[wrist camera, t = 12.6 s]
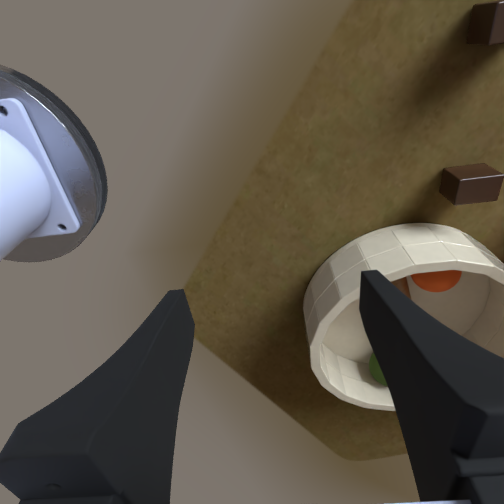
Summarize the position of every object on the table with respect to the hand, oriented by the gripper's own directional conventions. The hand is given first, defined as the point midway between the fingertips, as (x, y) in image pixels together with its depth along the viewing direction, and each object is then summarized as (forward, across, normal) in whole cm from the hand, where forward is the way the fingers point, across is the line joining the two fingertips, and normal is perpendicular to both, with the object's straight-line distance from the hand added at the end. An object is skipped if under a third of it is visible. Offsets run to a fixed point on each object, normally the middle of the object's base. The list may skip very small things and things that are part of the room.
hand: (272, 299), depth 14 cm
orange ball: (+7, -10, +5) cm, 14 cm away
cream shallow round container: (+9, -9, +10) cm, 16 cm away
